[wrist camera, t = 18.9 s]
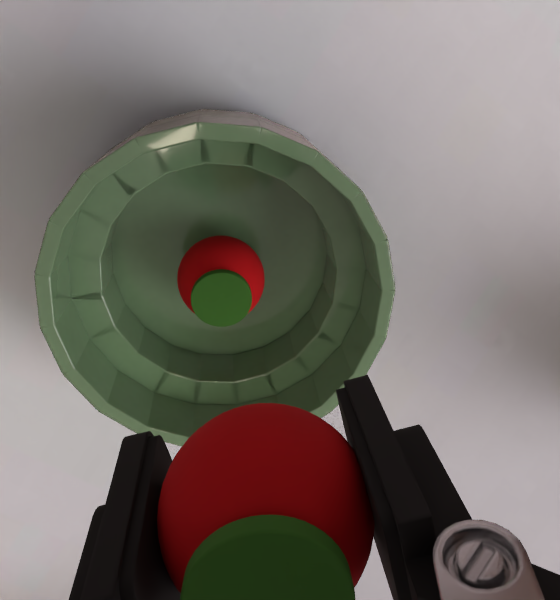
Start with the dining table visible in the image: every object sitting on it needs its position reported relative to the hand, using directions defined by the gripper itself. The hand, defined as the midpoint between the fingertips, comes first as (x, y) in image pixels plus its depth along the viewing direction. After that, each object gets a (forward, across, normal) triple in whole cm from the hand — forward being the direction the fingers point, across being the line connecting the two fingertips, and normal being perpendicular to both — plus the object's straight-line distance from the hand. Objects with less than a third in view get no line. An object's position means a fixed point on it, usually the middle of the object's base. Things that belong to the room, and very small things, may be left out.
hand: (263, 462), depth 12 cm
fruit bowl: (+16, +1, +1) cm, 17 cm away
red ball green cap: (+16, +1, +1) cm, 16 cm away
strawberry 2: (0, 0, 0) cm, 0 cm away
